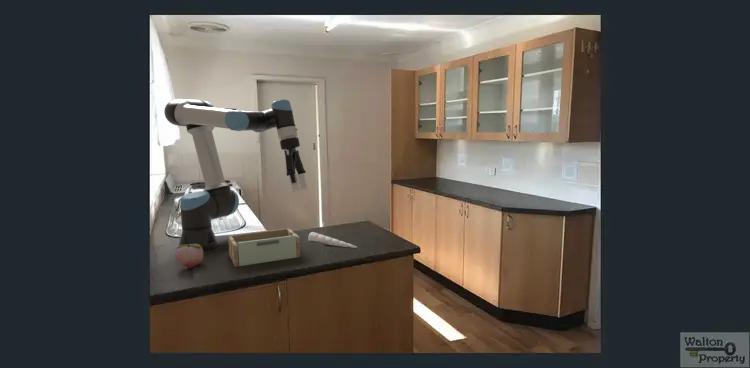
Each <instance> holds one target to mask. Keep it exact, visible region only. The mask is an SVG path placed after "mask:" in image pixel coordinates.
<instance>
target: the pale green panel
mask: <svg viewBox="0 0 750 368" xmlns="http://www.w3.org/2000/svg"><path fill="white" fill-rule="evenodd" d="M294 258H295V259H296V258H298V257H297V256H296V236H295V235H292V236H284V237H277V238H269V239H261V240H253V241H246V242H238V267H243V266H249V265H257V264H263V263H268V262H274V261H275V262H276V261H283V260H288V259H294Z"/></svg>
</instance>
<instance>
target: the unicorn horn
mask: <svg viewBox="0 0 750 368" xmlns="http://www.w3.org/2000/svg"><path fill="white" fill-rule="evenodd" d="M307 237H308V238H307V239H308V242H317V243H321V244H323V245H324V246H325V245H327V246H334V247H339V248H340V247H343V248H353V249H354V248H355V249H356V248H358V246H356V245H354V244H351V243H349V242H346V241H343V240H339V239H338V238H337V239H336V238H333V237H331V236H328V235H324V234H322V233H318V232H315V231H311V232H310V233H309V235H308V236H307Z"/></svg>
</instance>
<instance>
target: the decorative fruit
mask: <svg viewBox="0 0 750 368" xmlns="http://www.w3.org/2000/svg"><path fill="white" fill-rule="evenodd" d="M176 250H177V251H176V255H175V258H176V259H175V260H176V261H177V263H179V265H181V266H183V267H184V268H187V269H193V268H194V267H197V266H199V264H200V263H201V262H202V261H203V260H204V251H203V250H202V247H201V246H200V245H199V244H190V242H189V244H184V245H181V246H179V245H178V247H176Z"/></svg>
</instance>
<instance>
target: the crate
mask: <svg viewBox="0 0 750 368" xmlns="http://www.w3.org/2000/svg"><path fill="white" fill-rule="evenodd" d="M292 235H295V236H296V256H297V257H296V258H301V242H300V241H301V240H300V239H301V237H300V236H299V235H298V234H297V233H295V232H294V230H292V229H291V228H287V227H285V228H280V229H279V228H278V229H270V230H263V231H255V232H246V233H237V234H230V235H229V234H228V236H227V238H228V254H229V255H228V256H229V257H230V259H231V261H232V262H231V263H232V264H233V266H234V267H235V268H236V267H239V257H238V242H246V241H253V240H261V239H269V238H277V237H284V236H292Z"/></svg>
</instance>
